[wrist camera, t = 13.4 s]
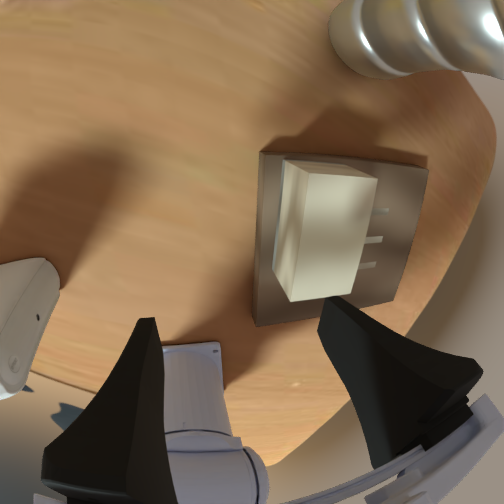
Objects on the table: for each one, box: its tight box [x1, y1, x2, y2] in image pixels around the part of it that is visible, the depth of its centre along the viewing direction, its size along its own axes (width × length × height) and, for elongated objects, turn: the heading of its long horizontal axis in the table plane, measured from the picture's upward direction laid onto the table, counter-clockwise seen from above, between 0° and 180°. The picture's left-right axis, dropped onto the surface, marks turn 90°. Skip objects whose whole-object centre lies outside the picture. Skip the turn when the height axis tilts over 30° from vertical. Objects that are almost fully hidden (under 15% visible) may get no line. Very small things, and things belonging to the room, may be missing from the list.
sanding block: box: [272, 159, 378, 302], centre depth 17 cm, size 8×4×4 cm, turn 177°
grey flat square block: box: [252, 152, 429, 327], centre depth 22 cm, size 14×15×2 cm
